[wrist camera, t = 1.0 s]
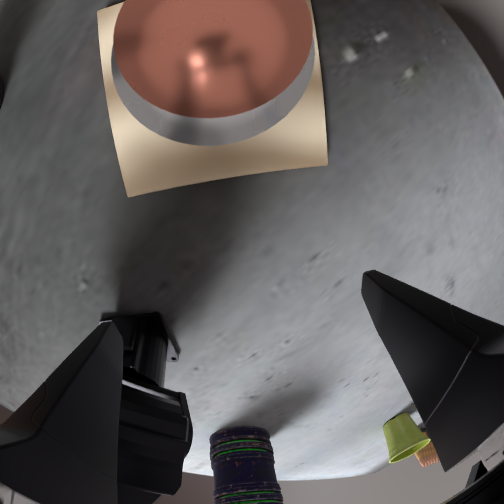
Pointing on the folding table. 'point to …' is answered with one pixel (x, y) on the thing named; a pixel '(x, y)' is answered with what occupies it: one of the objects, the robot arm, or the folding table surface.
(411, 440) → the plant pot
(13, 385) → the folding table surface
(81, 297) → the folding table surface
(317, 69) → the stand
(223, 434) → the storage jar
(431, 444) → the ammunition clip
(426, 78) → the folding table surface
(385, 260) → the folding table surface
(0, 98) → the drinking cup
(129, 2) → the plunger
